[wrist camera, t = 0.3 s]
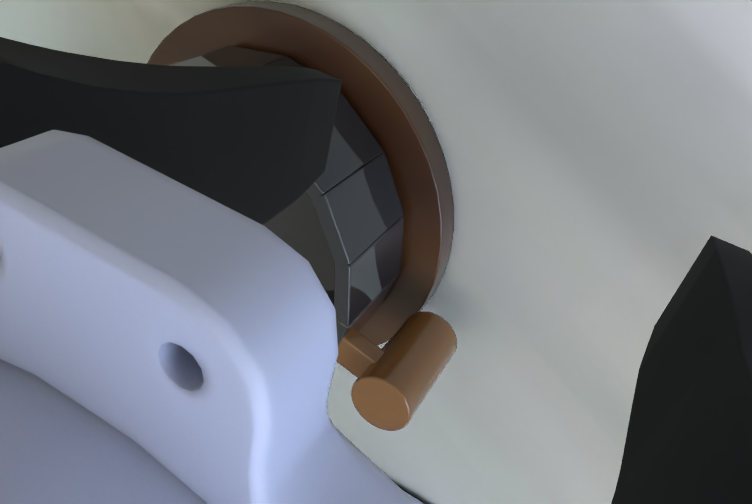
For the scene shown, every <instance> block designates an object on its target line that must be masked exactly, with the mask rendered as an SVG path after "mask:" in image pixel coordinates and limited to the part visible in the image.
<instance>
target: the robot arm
mask: <svg viewBox="0 0 752 504" xmlns="http://www.w3.org/2000/svg"><path fill="white" fill-rule="evenodd" d="M341 83H342V80H340V79H337V78H335V77H332V76H330V75H328V74H325V73H323V72H321V71H318V70H315V69H310V68H303V67H287V66H245V67H212V66H170V65H154V64H143V63H133V62H124V61H116V60H109V59H103V58H97V57H91V56H85V55H79V54H73V53H67V52H62V51H57V50H52V49H48V48H43V47H39V46H34V45H30V44H26V43H22V42H18V41H14V40H10V39H6V38H2V37H0V504H424V503H422V502H421V501H419V500H418V499H416V498H414V497H413V496H411V495H410V494H408V493H406V492H405V491H403V490H402V489H401V488H400V487H398V486H397V485H396V484H395V483H394V482H393V481H392V480H391V479H390V478H389V477H388V476H387V475H386V474H385V473H384V472H382V471H381V470H380V469H379V468H378V467H377V466H376V465H375V464H374V463H373V462H372V461H371V460H370V459H369V458H368V457H366V456H365V455H364V454H363V453H362V452H361V451H360V450H359V449H358V448H357V447H356V446H355V445H354V444H353V443H352V442H350V441H349V440H348V439H347V438H346V437H345V436H344V435H343V434H342V433H341V432H340V431H339V430H338V429H337V428H336V427H334V425H333V423H332V421H331V420H330V418H329V416H328V413H327V405H328V393H329V389H330V385H331V381H332V377H333V373H334V369H335V365H336V361H337V357H338V342H337V326H336V310H335V308H334V306H333V304H332V302H331V300H330V299H329V297H328V295H327V293H326V292H325V290H324V288H323V286H322V285H321V283H320V281H319V279H318V277H317V276H316V274H315V272H314V270H313V269H312V267H311V265H310V263H309V262H308V261H307V260H306V259H305V258H304V257H302V256H301V255H300V254H299V253H297V252H296V251H295V250H294V249H293V248H291V247H290V246H289V245H288V244H286V243H285V242H284V241H283V240H281V239H280V238H279V237H278V236H276V235H275V234H274V233H273V232H271V231H270V230H269V229H268V228H267V227H265V226H263V225H264V224H265V223H266V222H268V221H269V220H271V219H272V218H273V217H275V216H276V215H277V214H279V213H280V212H281V211H283V210H284V209H286V208H287V207H288V206H290V205H291V204H292V203H293V202H295V201H296V200H297V199H298V198H299V197H300V196H301V195H302V194H303V193H304V192H305V191H306V190H307V189H308V188H310V186H311V185H312V184H313V183H314V182H315V181H316V180H317V179H318V178H319V177H320V176H321V175H322V174H323V173H324V172H325V168H326V163H327V157H328V152H329V147H330V141H331V136H332V131H333V126H334V120H335V115H336V110H337V104H338V99H339V94H340V89H341ZM611 504H752V254H751V253H750V252H749V251H747V250H745V249H742V248H740V247H737V246H735V245H733V244H730V243H728V242H725V241H723V240H721V239H718V238H716V237H714V236H711V237H710V238H709V240H708V241H707V243H706V245H705V246H704V248H703V249H702V251H701V253H700V254H699V256H698V257H697V259H696V261H695V262H694V264H693V265H692V267H691V269H690V270H689V272H688V273H687V275H686V277H685V278H684V280H683V281H682V283H681V285H680V286H679V288H678V289H677V291H676V293H675V294H674V296H673V297H672V299H671V301H670V302H669V304H668V305H667V307H666V309H665V310H664V312H663V313H662V315H661V317H660V318H659V320H658V321H657V323H656V325H655V326H654V329H653V332H652V335H651V337H650V340H649V343H648V346H647V348H646V351H645V354H644V357H643V360H642V363H641V365H640V368H639V373H638V378H637V383H636V388H635V394H634V399H633V404H632V410H631V415H630V421H629V426H628V432H627V437H626V443H625V448H624V454H623V459H622V465H621V470H620V474H619V478H618V482H617V486H616V490H615V494H614V497H613V500H612V503H611Z"/></svg>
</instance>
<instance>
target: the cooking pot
mask: <svg viewBox="0 0 752 504" xmlns="http://www.w3.org/2000/svg"><path fill="white" fill-rule="evenodd" d="M170 66H212V67H245V66H287V67H302V66H301V65H299V64H298V63H296V62H295V61H293V60H292V59H290V58H289V57H286V56H284V55H278V54H273V53H268V52H263V51H257V50H252V49H247V48H242V47H236V46H228V47H224V48H221V49H218V50H215V51H212V52H209V53H205V54H202V55H199V56H196V57H193V58H190V59H187V60H183V61H180V62H177V63H174V64H171V65H170ZM303 68H304V67H303ZM403 215H404V212H403V209H402V206H401V203H400V199H399V196H398V193H397V190H396V187H395V183H394V180H393V177H392V174H391V171H390V168H389V164H388V161H387V158H386V155H385V153H384V152H383V149H382V147H381V146H380V145H379V143H378V142H377V140H376V139H375V138H374V136H373V135H372V134H371V132H370V131H369V130H368V128H367V127H366V125H365V124H364V123H363V121H362V120H361V119H360V117H359V116H358V115H357V113H356V112H355V111H354V109H353V108H352V106H351V105H350V104H349V102H348V101H347V100H346V98H345V97H344V96H343V95H341V93H340V94H339V99H338V104H337V110H336V115H335V120H334V126H333V131H332V136H331V141H330V147H329V152H328V157H327V163H326V168H325V172H324V173H323V174H322V175H321V176H320V177H319V178H318V179H317V180H316V181H315V182H314V183H313V184H312V185H311V186H310V188H308V189H307V190H306V191H305V192H304V193H303V194H302V195H301V196H300V197H299V198H298V199H297V200H296V201H295V202H293V203H292V204H291V205H290V206H288V207H287V208H286V209H284V210H283V211H281V212H280V213H279V214H277V215H276V216H275V217H273V218H272V219H271V220H269V221H268V222H266V223H265V224H264V225H263V226H265V227H267V228H268V229H269V230H270V231H271V232H273V233H274V234H275V235H276V236H278V237H279V238H280V239H281V240H283V241H284V242H285V243H286V244H288V245H289V246H290V247H291V248H293V249H294V250H295V251H296V252H297V253H299V254H300V255H301V256H302V257H304V258H305V259H306V260H307V261H308V262H309V263H310V265H311V267H312V269H313V270H314V272H315V274H316V276H317V277H318V279H319V281H320V283H321V285H322V286H323V288H324V290H325V292H326V293H327V295H328V297H329V299H330V300H331V302H332V304H333V306H334V308H335V310H336V326H337V342H338V357H337V361H336V362H338V363H339V364H340V365H342V366H343V367H344V368H346V369H347V370H348V371H350V372H351V373H352V374H353V375H355V376H356V377H357V378H358V379H357V380H356V381H355V382H354V384H353V387H352V392H351V396H352V401H353V404H354V406H355V408H356V409H357V411H358V412H359V414H360V415H361V416H362V417H363V418H364V419H365V420H366V421H368V422H369V423H370V424H372V425H374V426H376V427H378V428H380V429H383V430H388V431H395V430H399V429H402V428H404V427H405V426H406V425H407V424H408V423H409V421H410V420H411V418H412V417H413V415H414V414H415V412H416V411H417V409H418V408H419V406H420V405H421V403H422V402H423V400H424V399H425V397H426V396H427V394H428V393H429V391H430V390H431V388H432V387H433V385H434V384H435V382H436V381H437V379H438V378H439V376H440V374H441V373H442V371H443V370H444V368H445V367H446V365H447V364H448V362H449V361H450V359H451V358H452V356H453V355H454V353H455V351H456V348H457V338H456V335H455V332H454V330H453V329H452V327H451V326H450V325H449V323H448V322H446V321H445V320H444V319H443V318H441V317H440V316H438V315H436V314H433V313H430V312H417V313H414V314H412V315H410V316H409V317H408V318H407V319H406V320H405V321H404V323H403V324H402V325H401V326H400V328H399V329H398V330H397V331H396V332H395V334H394V335H393V336H392V337H391V338H390V340H389V341H388V342H387V343H386V345H385V346H384V347H383V348H382V349H380V348H379V347H378V346H376V345H375V344H374V343H372V342H371V341H370V340H368V339H367V338H366V337H364V336H363V335H362V334H360V333H359V331H360V330H361V328H362V327H363V326H364V325H365V324H366V323H367V322H368V321H369V320H370V318H371V317H372V316H373V315H374V314H375V313H376V312H377V310H378V309H379V307H380V305H381V304H382V302H383V300H384V299H385V297H386V295H387V294H388V292H389V290H390V289H391V287H392V285H393V284H394V282H395V280H396V279H397V277H398V275H399V273H400V269H401V255H402V241H403V227H404V216H403Z"/></svg>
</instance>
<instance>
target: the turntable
mask: <svg viewBox="0 0 752 504" xmlns="http://www.w3.org/2000/svg"><path fill="white" fill-rule="evenodd" d="M228 46H236V47H242V48H247V49H252V50H257V51H263V52H268V53H273V54H278V55H284V56H286V57H289V58H290V59H292V60H293V61H295V62H296V63H298V64H299V65H301V66H302V67H304V68H310V69H315V70H318V71H321V72H323V73H325V74H328V75H330V76H332V77H335V78H337V79H340V80H342V83H341V89H340V93H341V95H343V96H344V97H345V98H346V100H347V101H348V102H349V104H350V105H351V106H352V108H353V109H354V111H355V112H356V113H357V115H358V116H359V117H360V119H361V120H362V121H363V123H364V124H365V125H366V127H367V128H368V130H369V131H370V132H371V134H372V135H373V136H374V138H375V139H376V140H377V142H378V143H379V145H380V146H381V147H382V149H383V152H384V153H385V155H386V158H387V161H388V164H389V168H390V171H391V174H392V177H393V180H394V183H395V187H396V190H397V193H398V196H399V199H400V203H401V206H402V209H403V212H404V215H403V216H404V227H403V241H402V255H401V269H400V273H399V275H398V277H397V279H396V280H395V282H394V284H393V285H392V287H391V289H390V290H389V292H388V294H387V295H386V297H385V299H384V300H383V302H382V304H381V305H380V307H379V309H378V310H377V312H376V313H375V314H374V315H373V316H372V317H371V318H370V320H369V321H368V322H367V323H366V324H365V325H364V326H363V327H362V328H361V330H360V331H359V333H360V334H362V335H363V336H364V337H366V338H367V339H368V340H370V341H371V342H372V343H374V344H375V345H376V346H377V345H380V344H382V343H384V342H386V341H388V340H389V339H390V338H391V337H392V336H393V335H394V334H395V332H396V331H397V330H398V329H399V328H400V326H401V325H402V324H403V323H404V321H405V320H406V319H407V318H408V317H409V316H410V315H412V314H414V313H417V312H420V311H421V310H422V308H423V307H424V306H425V305H426V303H427V302H428V300H429V299H430V298H431V296H432V295H433V293H434V292H435V290H436V289H437V287H438V284H439V282H440V280H441V278H442V276H443V274H444V272H445V269H446V265H447V262H448V259H449V255H450V252H451V245H452V238H453V230H454V204H453V197H452V189H451V182H450V177H449V173H448V169H447V166H446V162H445V158H444V154H443V152H442V149H441V147H440V144H439V142H438V139H437V137H436V134H435V131H434V129H433V127H432V125H431V123H430V121H429V120H428V118H427V116H426V114H425V112H424V110H423V108H422V107H421V105H420V103H419V102H418V100H417V99H416V97H415V96H414V94H413V93H412V92H411V90H410V89H409V87H408V86H407V84H406V83H405V81H404V80H403V79H402V78H401V77H400V76H399V75H398V73H397V72H396V71H395V70H394V69H393V68H392V67H391V65H390V64H389V63H388V62H387V61H386V60H385V59H384V58H383V57H382V56H381V55H380V54H378V53H377V52H376V51H375V50H374V49H373V48H372V47H371V46H370V45H368V44H367V43H366V42H365V41H364V40H362V39H361V38H359V37H358V36H356V35H355V34H354V33H352V32H351V31H349V30H348V29H346V28H345V27H343V26H342V25H340V24H338V23H336V22H334V21H332V20H330V19H328V18H326V17H324V16H322V15H320V14H318V13H315V12H312V11H309V10H306V9H303V8H301V7H298V6H294V5H288V4H283V3H277V2H246V3H240V4H234V5H229V6H225V7H221V8H217V9H213V10H210V11H207V12H204V13H202V14H199V15H196V16H194V17H192V18H191V19H189V20H187V21H186V22H184V23H182V24H181V25H179V26H178V27H177V28H175V29H174V30H173V31H172V32H171V33H170V34H169V35H168V36H167V37H165V38H164V40H163V41H162V42H161V43H160V45H159V46H158V47H157V49H156V50H155V51H154V53H153V54H152V56H151V58H150V59H149V61H148V63H147V64H154V65H171V64H174V63H177V62H180V61H183V60H187V59H190V58H193V57H196V56H199V55H202V54H205V53H209V52H212V51H215V50H218V49H221V48H224V47H228Z"/></svg>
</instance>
